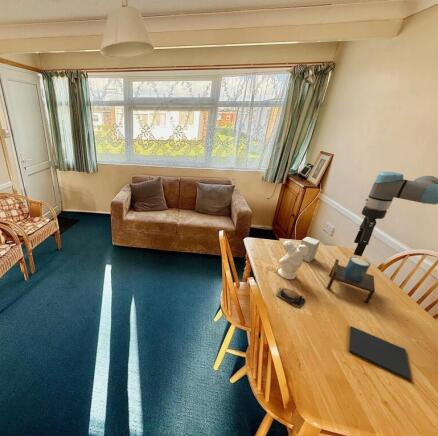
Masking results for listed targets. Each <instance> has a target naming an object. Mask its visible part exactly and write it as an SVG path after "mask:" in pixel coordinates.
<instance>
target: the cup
mask: <svg viewBox="0 0 438 436" xmlns="http://www.w3.org/2000/svg"><path fill="white" fill-rule="evenodd" d="M345 267H346V268H345V270H344V272H343V274H344V275H345V276H346V277H347V278H349V279H351V280H354V281H362V280H363V279H364V277H365V275H366V274H368V270H369V268H370V267H371V263H370V262H369V261H368V260H366V259H364V258H361V257H359V256H350V257H349V259H348V262H347V263H346V265H345Z"/></svg>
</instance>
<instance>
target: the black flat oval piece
mask: <svg viewBox="0 0 438 436" xmlns="http://www.w3.org/2000/svg"><path fill="white" fill-rule="evenodd" d="M276 296H277V297H278V298H280V299H282V300H283V301H285V302H286V303H289V304H290V305H293V306H295V307H297V308H301V307H302V306H303V304H304V303H305V301H306V299H305V297H304V296H303V295H299V293H298V292H296V291H295V290H293V289H290V288H284V287H282V288H281V289H280V290H279V291H278V292H277V293H276Z"/></svg>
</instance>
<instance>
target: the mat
mask: <svg viewBox="0 0 438 436" xmlns="http://www.w3.org/2000/svg"><path fill="white" fill-rule="evenodd" d="M348 351H349V352H348V353H351V354H353V355H355V356H356V357H359V358H361V359H363V360H365V361H367V362H370V363H372V364H373V365H376V366H377V367H380V368H382V369H384V370H386V371H388V372H390V373H392V374H395V375H396V376H399V378H400V377H401V378H403V379H405V380H406V381H411V379H412V377H411V371H410V368H409V361H408V357H407V351H406V349H405V348H404V347H401V346H398V345H397V344H394V343H391V342H389V341H387V340H384V339H382V338H380V337H377V336H375V335H373V334H371V333H369V332H366V331H365V330H361V329H359V328H356V327H354V326H350V328H349V349H348Z"/></svg>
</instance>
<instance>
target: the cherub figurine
mask: <svg viewBox="0 0 438 436" xmlns="http://www.w3.org/2000/svg"><path fill="white" fill-rule="evenodd" d="M282 247H283V249H284V250H285V252H286V254H285V255H284V256H283V257H282V258H280V259H279V260H278V263H279V264H280V268H279V269H278V270H277V273H278V275H279V276H280V277H281V278H284V279H286V280H287V279H288V280H294V279H296V276H297V275H296V272H297V271H298V269H299V268H301V267H302V265H303V263H304V262H303V261H304V260H303V255H307V254H308V251H309V250H308V249H309V248H308V246H306V245H305V244H304V245H301V244H300V245H299V246H298V247H297V246H296V243H295V242H294V241H293V240H285V241H284V242H283V243H282Z"/></svg>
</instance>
